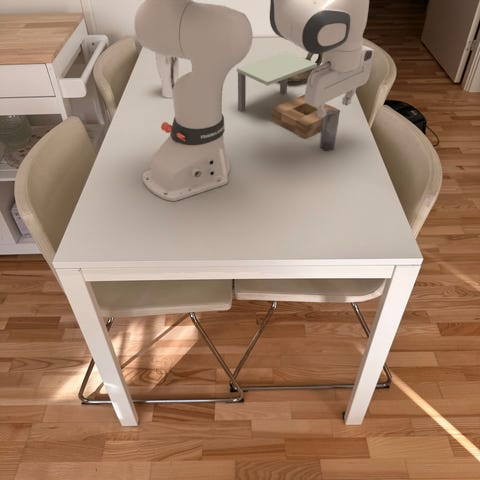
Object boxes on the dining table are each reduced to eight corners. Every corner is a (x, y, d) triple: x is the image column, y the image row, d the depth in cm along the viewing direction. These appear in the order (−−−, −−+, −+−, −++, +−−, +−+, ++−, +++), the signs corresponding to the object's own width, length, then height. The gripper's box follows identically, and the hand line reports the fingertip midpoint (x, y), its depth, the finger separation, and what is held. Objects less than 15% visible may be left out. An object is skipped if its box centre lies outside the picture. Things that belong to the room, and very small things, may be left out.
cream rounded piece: (179, 88, 153) (174, 42, 143) (183, 97, 148) (179, 49, 138) (158, 91, 151) (152, 44, 141) (162, 100, 146) (156, 52, 136)
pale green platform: (266, 125, 134) (267, 82, 125) (237, 109, 141) (236, 68, 132) (312, 104, 143) (316, 63, 134) (283, 91, 150) (285, 51, 142)
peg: (327, 152, 122) (332, 118, 115) (316, 146, 124) (320, 112, 118) (337, 147, 124) (342, 113, 117) (326, 141, 126) (330, 108, 120)
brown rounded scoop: (268, 72, 162) (269, 43, 156) (315, 69, 164) (318, 41, 157) (275, 88, 152) (277, 58, 146) (326, 85, 154) (330, 55, 147)
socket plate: (305, 138, 128) (306, 125, 125) (271, 120, 136) (271, 108, 133) (338, 122, 134) (340, 110, 132) (303, 106, 142) (304, 94, 140)
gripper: (321, 73, 101) (315, 128, 110) (379, 48, 110) (368, 101, 120) (300, 64, 104) (296, 119, 114) (358, 41, 114) (350, 93, 123)
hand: (334, 110), depth 117 cm, fingers open, 8 cm apart
